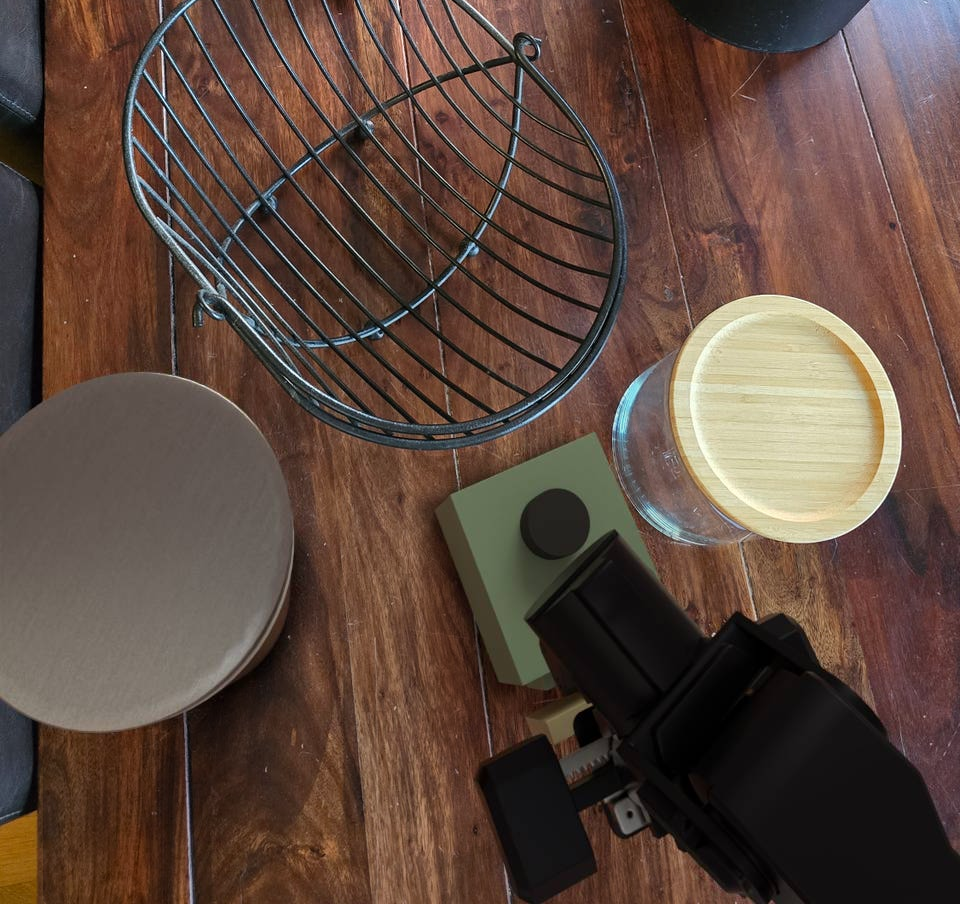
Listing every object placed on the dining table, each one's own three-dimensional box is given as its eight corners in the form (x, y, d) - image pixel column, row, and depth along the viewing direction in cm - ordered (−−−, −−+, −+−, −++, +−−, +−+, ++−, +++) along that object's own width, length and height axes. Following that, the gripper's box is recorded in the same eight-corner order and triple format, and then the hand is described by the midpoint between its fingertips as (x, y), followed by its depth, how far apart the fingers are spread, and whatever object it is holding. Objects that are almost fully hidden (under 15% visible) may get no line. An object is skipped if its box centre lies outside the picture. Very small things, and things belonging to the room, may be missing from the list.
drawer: (684, 742, 69) (718, 749, 63) (560, 809, 66) (584, 823, 61) (589, 520, 74) (614, 509, 68) (471, 575, 71) (486, 568, 66)
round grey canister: (174, 479, 72) (67, 316, 37) (319, 549, 72) (350, 450, 36) (86, 646, 67) (-134, 641, 32) (241, 723, 67) (189, 802, 32)
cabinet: (636, 614, 72) (673, 610, 65) (499, 682, 70) (522, 686, 62) (566, 452, 76) (595, 431, 69) (434, 510, 74) (449, 494, 66)
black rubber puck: (590, 544, 66) (600, 540, 64) (534, 570, 65) (543, 567, 63) (564, 483, 68) (574, 477, 66) (510, 508, 67) (517, 503, 64)
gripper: (792, 502, 58) (695, 530, 71) (453, 666, 52) (418, 662, 66) (908, 738, 54) (781, 720, 67) (552, 943, 48) (493, 878, 62)
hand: (620, 737), depth 66 cm, fingers closed, pressing on drawer
